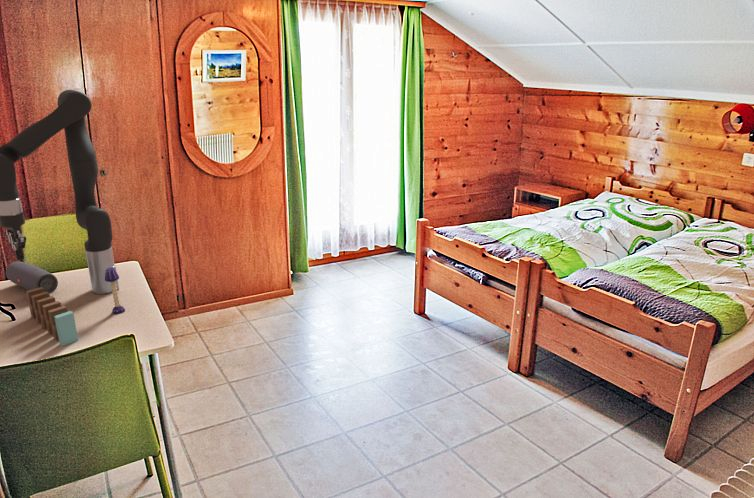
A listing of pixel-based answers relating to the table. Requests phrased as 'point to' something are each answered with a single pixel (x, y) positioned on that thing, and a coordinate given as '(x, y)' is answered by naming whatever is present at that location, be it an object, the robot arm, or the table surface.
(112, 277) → the toy lamp
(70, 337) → the domino
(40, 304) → the domino
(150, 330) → the table surface
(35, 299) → the domino
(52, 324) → the domino
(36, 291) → the domino
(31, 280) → the bluetooth speaker
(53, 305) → the domino
